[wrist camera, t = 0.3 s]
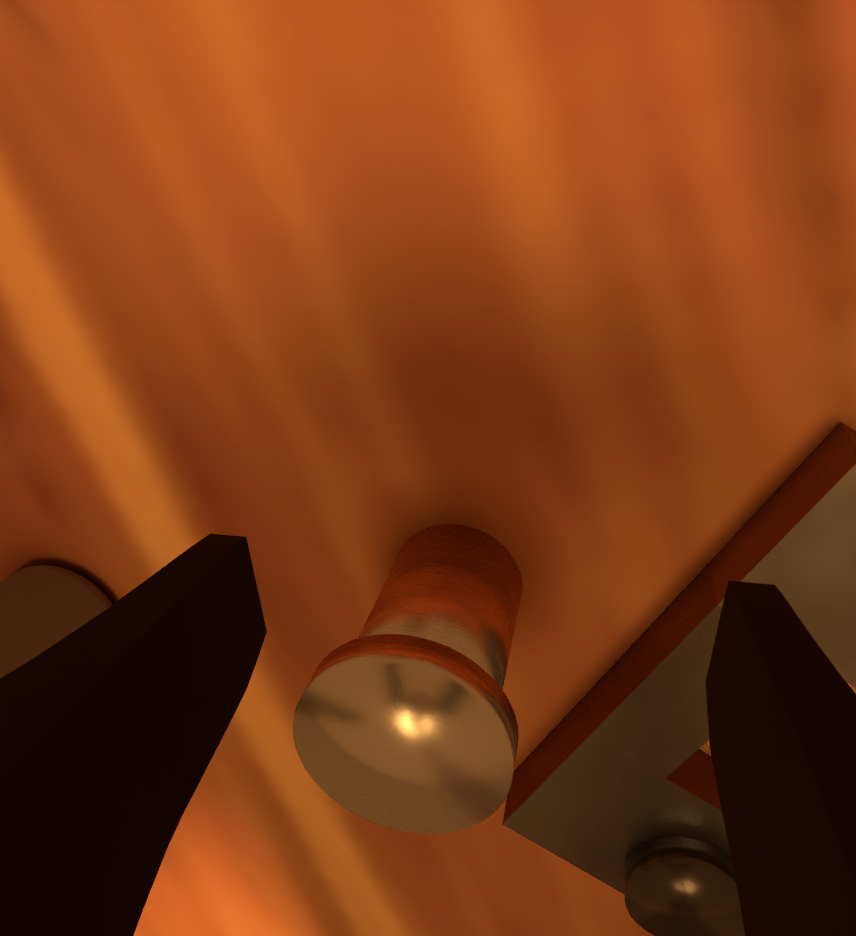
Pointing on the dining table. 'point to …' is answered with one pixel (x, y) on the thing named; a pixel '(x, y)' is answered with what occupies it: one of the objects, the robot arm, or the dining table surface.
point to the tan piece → (688, 715)
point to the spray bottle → (43, 611)
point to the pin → (421, 691)
